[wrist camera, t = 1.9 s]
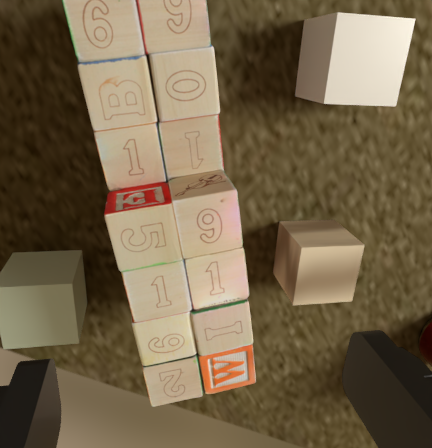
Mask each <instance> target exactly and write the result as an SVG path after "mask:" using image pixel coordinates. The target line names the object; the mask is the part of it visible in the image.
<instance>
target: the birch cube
mask: <svg viewBox="0 0 432 448" xmlns="http://www.w3.org/2000/svg"><path fill="white" fill-rule="evenodd" d="M364 246H365V245H364V244H363V243H361V242H360V241H359V240H358V239H357V238H355V237H354V236H353V235H352V234H351V233H350V232H348V231H347V230H346V229H345V228H344V227H342V226H341V225H340V224H339V223H338V222H336V221H335V220H309V221H279V228H278V236H277V244H276V253H275V261H274V269H273V274H274V275H275V277H276V279H277V280H278V282H279V284H280V285H281V287H282V288H283V290H284V292H285V293H286V295H287V297H288V298H289V300H290V301H291V303H292V305H305V304H319V303H334V302H348V301H352V299H353V295H354V290H355V286H356V281H357V277H358V272H359V268H360V263H361V259H362V254H363V250H364Z"/></svg>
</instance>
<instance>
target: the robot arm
mask: <svg viewBox="0 0 432 448" xmlns="http://www.w3.org/2000/svg"><path fill="white" fill-rule="evenodd" d="M342 382H343V387H344V391H345V393H346V395H347V397H348V399H349V401H350V402H351V404H352V405H353V407H354V409H355V410H356V412H357V414H358V415H359V417H360V418H361V420H362V422H363V423H364V425H365V426H366V428H367V430H368V431H369V433H370V434H371V436H372V438H373V439H374V441H375V443H376V444H377V446H378V447H379V448H432V371H431V370H430V369H429V368H428V367H427V366H426V365H425V364H424V363H423V362H422V361H421V360H420V359H419V358H417V357H416V356H414V355H413V354H411V353H410V352H408V351H407V350H405V349H404V348H402V347H397V346H396V345H395V344H394V343H393V341H392V340H391V339H390V338H389V337H388V336H387V335H386V334H385V333H384V332H383V331H380V330H375V331H364V332H355V333H353V334H352V336H351V338H350V342H349V346H348V351H347V355H346V359H345V364H344V368H343V373H342ZM60 424H61V401H60V395H59V388H58V381H57V374H56V368H55V362H54V360H53V359H42V360H31V361H21V362H19V363H18V365H17V367H16V369H15V372H14V374H13V377H12V379H11V382H10V384H9V385H8V386H0V448H56V445H57V440H58V436H59V431H60Z"/></svg>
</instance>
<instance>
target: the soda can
mask: <svg viewBox="0 0 432 448" xmlns="http://www.w3.org/2000/svg"><path fill="white" fill-rule="evenodd" d="M419 350H420V353H421V355H422V356H423V357H424V359H425V360H426V361H427V362H428V363H429V364H430V365H431V366H432V319H431V320H430V321H429V322H428V323H427V324H426V325H425V327H424V328H423V330H422V332H421V335H420V338H419Z"/></svg>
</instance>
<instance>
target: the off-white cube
mask: <svg viewBox="0 0 432 448" xmlns="http://www.w3.org/2000/svg"><path fill="white" fill-rule="evenodd" d="M414 23H415V19H410V18H398V17H386V16H374V15H362V14H349V13H333V14H329V15H324V16H320V17H315V18H311V19H306V20H304V26H303V34H302V42H301V50H300V58H299V66H298V75H297V83H296V91H295V97H299V98H303V99H307V100H311V101H315V102H318V103H322V104H342V105H372V106H396V103H397V99H398V94H399V90H400V85H401V81H402V76H403V72H404V68H405V63H406V59H407V54H408V50H409V45H410V41H411V37H412V32H413V28H414Z"/></svg>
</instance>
